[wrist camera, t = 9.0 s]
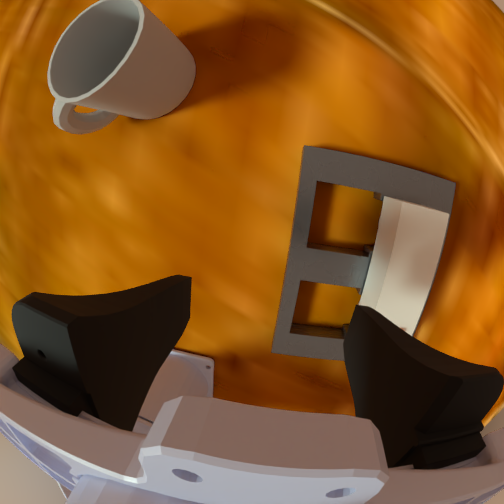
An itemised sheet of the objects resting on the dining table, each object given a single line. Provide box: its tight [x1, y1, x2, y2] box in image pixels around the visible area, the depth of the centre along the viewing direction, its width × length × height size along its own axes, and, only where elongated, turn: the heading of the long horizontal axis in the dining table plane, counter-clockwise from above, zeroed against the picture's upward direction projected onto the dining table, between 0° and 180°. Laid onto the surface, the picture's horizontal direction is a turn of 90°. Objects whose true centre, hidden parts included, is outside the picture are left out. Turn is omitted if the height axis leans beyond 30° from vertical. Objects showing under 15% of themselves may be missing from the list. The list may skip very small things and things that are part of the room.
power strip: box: [358, 196, 449, 336], centre depth 17 cm, size 11×4×5 cm, turn 174°
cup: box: [48, 0, 196, 134], centre depth 14 cm, size 7×10×9 cm
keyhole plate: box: [271, 145, 456, 361], centre depth 19 cm, size 16×12×2 cm
